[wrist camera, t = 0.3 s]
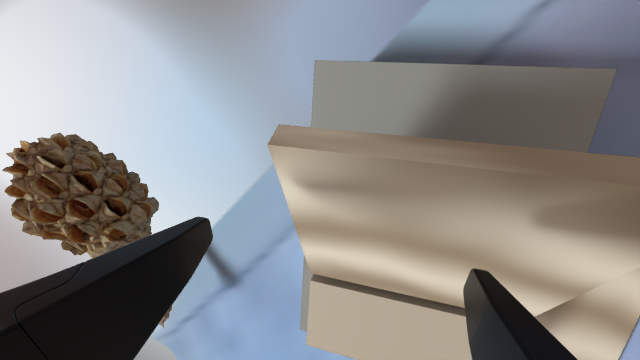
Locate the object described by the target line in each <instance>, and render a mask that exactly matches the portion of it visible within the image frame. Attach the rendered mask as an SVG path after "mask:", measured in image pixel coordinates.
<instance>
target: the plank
mask: <svg viewBox="0 0 640 360" xmlns="http://www.w3.org/2000/svg"><path fill="white" fill-rule="evenodd" d="M639 316H640V267H639V268H636V269H634V270H632V271H630V272H628V273H626V274H624V275H622V276H619V277H617V278H615V279H613V280H611V281H609V282H607V283H605V284H603V285H600V286H598V287H596V288H594V289H592V290H590V291H588V292H586V293H584V294H581V295H579V296H577V297H575V298H573V299H571V300H569V301H567V302H565V303H562V304H560V305H558V306H556V307H554V308H552V309H550V310H548V311H546V312H543V313H541V314H539V315H537V316H535V318H536V319H537V320H538V321H539V322H540V323H541V324H542V325H543V326H544V327H545V328H546V329H547V330H548V331H549V332H550V333H551V334H552V335H553V336H554V337H555V338H556V339H557V340H558V341H559V342H560V343H561V344H562V345H563V346H565V347H566V348H567V349H568V350H569V351H570V352H571V353H572V354H573V355H574V356H575V357H576V358H577V359H578V360H618V359H619V357H620V355H621V353H622V351H623V349H624V347H625V345H626V343H627V341H628V339H629V337H630V335H631V333H632V331H633V329H634V327H635V325H636V323H637V320H638V318H639Z"/></svg>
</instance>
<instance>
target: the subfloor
mask: <svg viewBox="0 0 640 360" xmlns="http://www.w3.org/2000/svg"><path fill="white" fill-rule="evenodd" d="M616 70H617V69H604V68H569V67H534V66H500V65H465V64H431V63H396V62H360V61H327V60H326V61H325V60H315V64H314V83H313V101H312V119H311V127H312V128H323V129H334V130H345V131H356V132H367V133H378V134H389V135H400V136H411V137H422V138H433V139H444V140H454V141H465V142H476V143H487V144H498V145H509V146H520V147H531V148H542V149H553V150H564V151H575V152H586V153H588V150H589V147H590V144H591V141H592V139H593V136H594V133H595V130H596V127H597V124H598V121H599V119H600V116H601V113H602V110H603V107H604V104H605V102H606V99H607V96H608V93H609V90H610V87H611V84H612V82H613V79H614V76H615V73H616ZM300 329H301V330H304V331H307V341H306V345H309V346H312V347H316V348H319V349H322V350H326V351H329V352H333V353H336V354H340V355H343V356H346V357H350V358H353V359H357V360H472V356H471V352H470V347H469V340H468V333H467V324H466V315H465V308H462V307H458V306H454V305H449V304H445V303H440V302H436V301H432V300H427V299H423V298H418V297H414V296H409V295H405V294H401V293H396V292H392V291H387V290H383V289H378V288H374V287H370V286H365V285H361V284H356V283H352V282H347V281H343V280H339V279H334V278H330V277H325V276H321V275H316V274H312V273H310V270H309V267H308V264H307V261H306V258H305V255H304V266H303V284H302V303H301V321H300Z"/></svg>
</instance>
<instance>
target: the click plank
mask: <svg viewBox="0 0 640 360" xmlns="http://www.w3.org/2000/svg"><path fill="white" fill-rule="evenodd" d="M268 147H269V150H270V153H271V156H272V159H273V162H274V165H275V168H276V171H277V174H278V177H279V180H280V183H281V186H282V189H283V192H284V195H285V198H286V201H287V204H288V207H289V210H290V213H291V216H292V219H293V222H294V225H295V228H296V231H297V234H298V237H299V240H300V243H301V246H302V249H303V252H304V255H305V258H306V261H307V264H308V267H309V270H310V273H312V274H316V275H321V276H325V277H330V278H334V279H339V280H343V281H347V282H352V283H356V284H361V285H365V286H370V287H374V288H378V289H383V290H387V291H392V292H396V293H401V294H405V295H409V296H414V297H418V298H423V299H427V300H432V301H436V302H440V303H445V304H449V305H454V306H458V307H462V308H465V306H464V297H463V288H464V285H465V282H466V280H467V277H468V275H469V273H470V270H471V269H473V268H477V269H482V270H487V271H488V272H490V273H491V274H492V275H493V276H494V277H495V278H496V279H497V280H498V281H499V282H500V283H501V284H502V285H503V286H504V287H505V288H506V289H507V290H508V291H509V292H510V293H511V294H512V295H513V296H514V297H515V298H516V299H517V300H518V301H519V302H520V303H521V304H522V305H523V306H524V307H525V308H526V309H527V310H528V311H529V312H530V313H531V314H532V315H533V316H534V317H535V316H537V315H539V314H541V313H543V312H546V311H548V310H550V309H552V308H554V307H556V306H558V305H560V304H562V303H565V302H567V301H569V300H571V299H573V298H575V297H577V296H579V295H581V294H584V293H586V292H588V291H590V290H592V289H594V288H596V287H598V286H600V285H603V284H605V283H607V282H609V281H611V280H613V279H615V278H617V277H619V276H622V275H624V274H626V273H628V272H630V271H632V270H634V269H636V268H639V267H640V157H630V156H619V155H608V154H597V153H586V152H575V151H564V150H553V149H542V148H531V147H520V146H509V145H498V144H487V143H476V142H465V141H454V140H444V139H433V138H422V137H411V136H400V135H389V134H378V133H367V132H356V131H345V130H334V129H323V128H312V127H301V126H290V125H278V127H277V129H276V130H275V132H274V134H273V136H272V138H271V140H270V142H269V143H268Z"/></svg>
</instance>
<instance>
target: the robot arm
mask: <svg viewBox="0 0 640 360" xmlns="http://www.w3.org/2000/svg"><path fill="white" fill-rule="evenodd" d="M212 239H213V234H212V229H211V225H210V221H209V219H207V218H203V217H195V218H193V219H190V220H188V221H185V222H183V223H180V224H178V225H175V226H173V227H170V228H168V229H165V230H163V231H160V232H158V233H155V234H153V235H150V236H148V237H145V238H143V239H140V240H138V241H135V242H133V243H130V244H128V245H125V246H123V247H120V248H118V249H115V250H113V251H110V252H108V253H105V254H103V255H100V256H98V257H95V258H93V259H90V260H88V261H86V262H82V263H80V264H77V265H75V266H73V267H70V268H67V269H65V270H62V271H60V272H57V273H55V274H52V275H49V276H47V277H44V278H41V279H38V280H36V281H33V282H30V283H27V284H24V285H22V286H19V287H16V288H13V289H10V290H8V291H5V292H2V293H0V360H133V359H134V358H135V356H136V355H137V354H138V352H139V351H140V350H141V348H142V347H143V345H144V344H145V342H146V341H147V340H148V338H149V337H150V335H151V334H152V332H153V331H154V330H155V328H156V327H157V325H158V324H159V323H160V321H161V320H162V318H163V317H164V315H165V314H166V313H167V311H168V310H169V308H170V307H171V306H172V304H173V303H174V301H175V300H176V298H177V297H178V296H179V294H180V293H181V291H182V290H183V288H184V287H185V286H186V284H187V283H188V281H189V280H190V278H191V277H192V275H193V273H194V272H195V270H196V268H197V267H198V265H199V263H200V261H201V260H202V258H203V256H204V254H205V253H206V251H207V249H208V247H209V245H210V244H211V242H212ZM463 297H464V306H465V315H466V324H467V333H468V340H469V347H470V352H471V356H472V360H578V359H577V358H576V357H575V356H574V355H573V354H572V353H571V352H570V351H569V350H568V349H567V348H566V347H565V346H563V345H562V344H561V343H560V342H559V341H558V340H557V339H556V338H555V337H554V336H553V335H552V334H551V333H550V332H549V331H548V330H547V329H546V328H545V327H544V326H543V325H542V324H541V323H540V322H539V321H538V320H537V319H536V318H535V317H534V316H533V315H532V314H531V313H530V312H529V311H528V310H527V309H526V308H525V307H524V306H523V305H522V304H521V303H520V302H519V301H518V300H517V299H516V298H515V297H514V296H513V295H512V294H511V293H510V292H509V291H508V290H507V289H506V288H505V287H504V286H503V285H502V284H501V283H500V282H499V281H498V280H497V279H496V278H495V277H494V276H493V275H492V274H491V273H490V272H488V271H487V270H482V269H477V268H473V269H471V270H470V273H469V275H468V277H467V280H466V282H465V285H464V288H463Z"/></svg>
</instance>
